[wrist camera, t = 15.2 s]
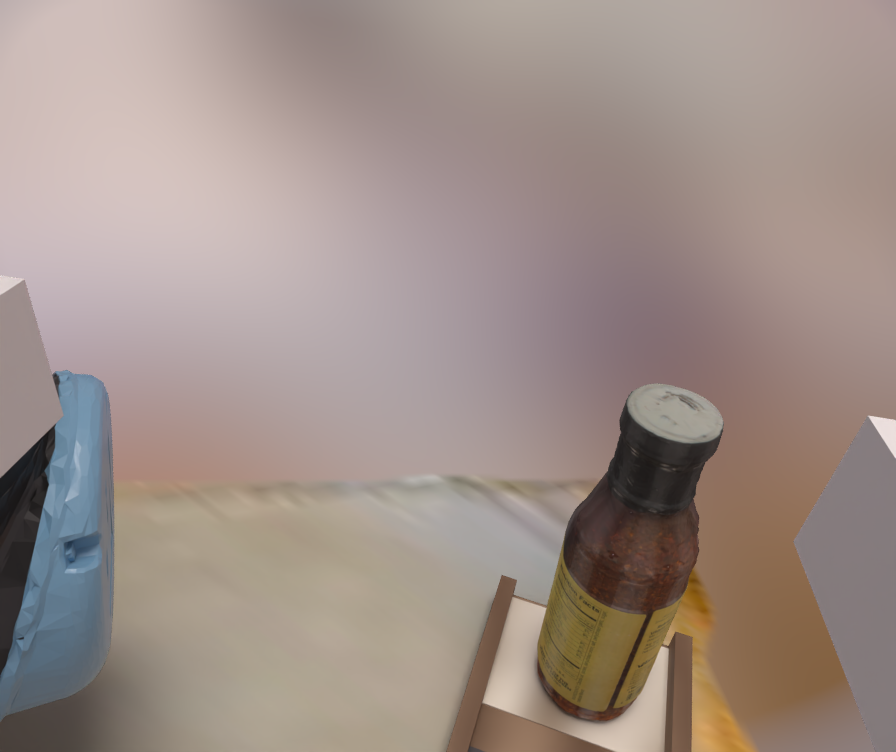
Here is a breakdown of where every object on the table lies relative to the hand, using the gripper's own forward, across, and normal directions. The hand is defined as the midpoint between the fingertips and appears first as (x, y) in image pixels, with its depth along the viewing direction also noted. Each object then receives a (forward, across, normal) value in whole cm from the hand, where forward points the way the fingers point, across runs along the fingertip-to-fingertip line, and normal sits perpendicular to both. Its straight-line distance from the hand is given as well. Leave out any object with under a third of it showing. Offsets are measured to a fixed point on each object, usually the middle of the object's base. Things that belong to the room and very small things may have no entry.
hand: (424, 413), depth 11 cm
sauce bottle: (+15, +9, -29) cm, 34 cm away
